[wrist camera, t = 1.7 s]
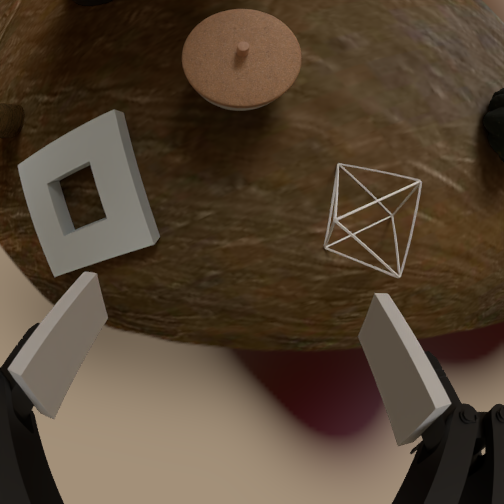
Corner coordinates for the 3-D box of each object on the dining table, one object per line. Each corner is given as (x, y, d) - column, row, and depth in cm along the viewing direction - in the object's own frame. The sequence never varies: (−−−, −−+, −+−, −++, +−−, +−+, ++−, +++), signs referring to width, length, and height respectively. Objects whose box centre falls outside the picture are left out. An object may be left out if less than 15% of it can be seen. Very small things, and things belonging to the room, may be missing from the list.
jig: (30, 163, 27) (17, 165, 24) (123, 112, 27) (114, 109, 24) (64, 268, 32) (54, 277, 29) (160, 236, 32) (154, 244, 29)
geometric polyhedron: (297, 179, 31) (322, 189, 23) (373, 149, 31) (415, 152, 22) (330, 267, 36) (357, 301, 27) (396, 235, 35) (435, 258, 26)
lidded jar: (280, 36, 25) (298, 1, 16) (289, 116, 29) (313, 101, 20) (189, 42, 24) (177, 6, 16) (195, 123, 28) (181, 110, 19)
